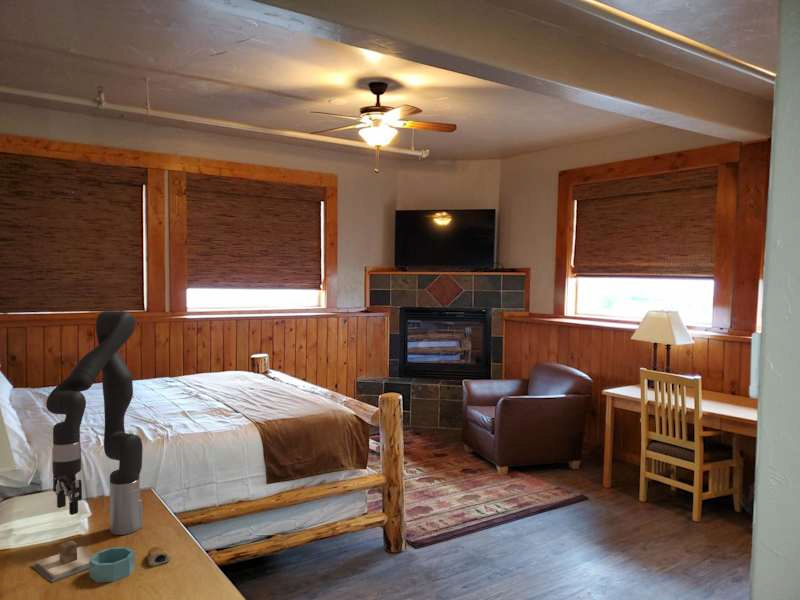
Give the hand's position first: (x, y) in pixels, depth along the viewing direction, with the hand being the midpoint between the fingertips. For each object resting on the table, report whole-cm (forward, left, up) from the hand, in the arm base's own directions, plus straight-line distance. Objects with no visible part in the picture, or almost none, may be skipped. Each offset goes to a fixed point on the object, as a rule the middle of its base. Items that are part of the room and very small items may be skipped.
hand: (67, 510), depth 177 cm
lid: (0, 0, -16) cm, 16 cm away
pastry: (-19, +18, -17) cm, 31 cm away
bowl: (-6, +15, -17) cm, 23 cm away
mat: (0, 0, -17) cm, 17 cm away
